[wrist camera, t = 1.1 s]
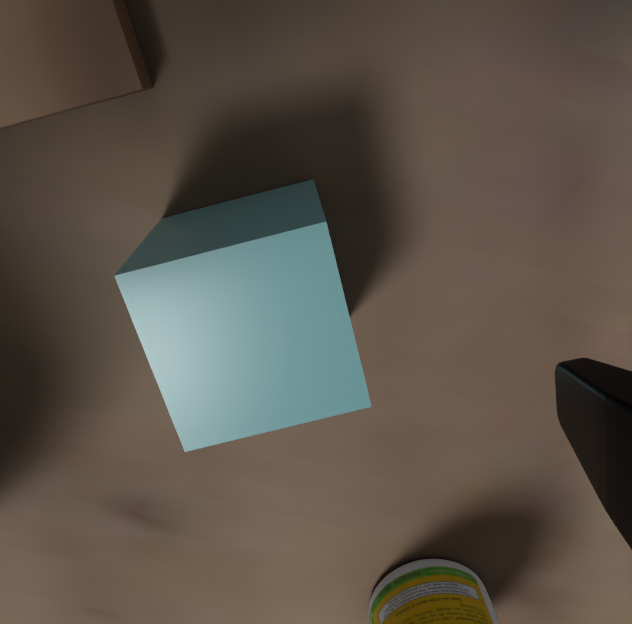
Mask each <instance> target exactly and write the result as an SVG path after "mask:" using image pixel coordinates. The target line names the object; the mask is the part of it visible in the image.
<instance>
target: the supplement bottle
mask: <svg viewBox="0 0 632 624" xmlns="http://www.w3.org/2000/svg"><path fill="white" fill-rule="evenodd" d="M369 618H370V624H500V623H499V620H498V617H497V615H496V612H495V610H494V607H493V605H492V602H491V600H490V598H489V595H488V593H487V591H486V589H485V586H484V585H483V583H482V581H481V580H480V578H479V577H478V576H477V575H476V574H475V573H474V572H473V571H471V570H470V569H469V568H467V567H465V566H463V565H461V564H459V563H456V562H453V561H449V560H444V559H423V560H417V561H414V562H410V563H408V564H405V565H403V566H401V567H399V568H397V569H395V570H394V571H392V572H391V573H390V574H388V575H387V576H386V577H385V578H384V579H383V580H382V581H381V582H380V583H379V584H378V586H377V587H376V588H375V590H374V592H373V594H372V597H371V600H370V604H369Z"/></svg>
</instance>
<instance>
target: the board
mask: <svg viewBox="0 0 632 624" xmlns="http://www.w3.org/2000/svg"><path fill="white" fill-rule="evenodd" d="M151 88H153V86H152V83H151V80H150V77H149V74H148V71H147V68H146V65H145V62H144V59H143V56H142V53H141V50H140V47H139V44H138V41H137V38H136V35H135V32H134V29H133V26H132V23H131V20H130V17H129V13H128V10H127V7H126V4H125V1H124V0H0V129H2V128H6V127H10V126H13V125H17V124H21V123H24V122H28V121H32V120H36V119H39V118H43V117H47V116H51V115H54V114H58V113H62V112H65V111H69V110H73V109H77V108H80V107H84V106H88V105H91V104H95V103H99V102H103V101H106V100H110V99H114V98H117V97H121V96H125V95H129V94H132V93H136V92H140V91H143V90H147V89H151Z"/></svg>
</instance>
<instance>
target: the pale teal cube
mask: <svg viewBox="0 0 632 624" xmlns="http://www.w3.org/2000/svg"><path fill="white" fill-rule="evenodd" d="M114 276H115V279H116V281H117V284H118V286H119V289H120V291H121V294H122V296H123V299H124V301H125V304H126V306H127V309H128V311H129V314H130V316H131V319H132V321H133V324H134V326H135V329H136V331H137V334H138V336H139V339H140V341H141V344H142V346H143V349H144V351H145V354H146V356H147V359H148V361H149V364H150V366H151V369H152V371H153V374H154V376H155V379H156V381H157V384H158V386H159V389H160V391H161V393H162V396H163V398H164V401H165V403H166V406H167V408H168V411H169V413H170V416H171V418H172V421H173V423H174V426H175V428H176V431H177V433H178V436H179V438H180V441H181V443H182V446H183V448H184V451H185V452H186V451H191V450H195V449H199V448H203V447H207V446H211V445H215V444H220V443H224V442H228V441H232V440H236V439H240V438H244V437H248V436H253V435H257V434H261V433H265V432H269V431H273V430H277V429H282V428H286V427H290V426H294V425H298V424H302V423H306V422H311V421H315V420H319V419H323V418H327V417H331V416H335V415H340V414H344V413H348V412H352V411H356V410H360V409H364V408H368V407H372V406H371V402H370V398H369V394H368V390H367V386H366V382H365V378H364V374H363V370H362V365H361V361H360V357H359V353H358V349H357V345H356V341H355V337H354V333H353V329H352V325H351V320H350V316H349V312H348V308H347V304H346V300H345V296H344V292H343V288H342V284H341V280H340V275H339V271H338V267H337V263H336V259H335V255H334V251H333V247H332V243H331V239H330V235H329V230H328V226H327V222H326V219H325V215H324V212H323V209H322V205H321V202H320V199H319V196H318V192H317V189H316V186H315V182H314V179H311V180H308V181H304V182H300V183H296V184H292V185H288V186H284V187H281V188H277V189H273V190H269V191H265V192H261V193H257V194H254V195H250V196H246V197H242V198H238V199H234V200H231V201H227V202H223V203H219V204H215V205H211V206H207V207H204V208H200V209H196V210H192V211H188V212H184V213H180V214H177V215H173V216H169V217H165V218H162V219H161V220H160V221H159V222H158V223H157V225H156V226H155V227H154V228H153V230H152V231H151V232H150V233H149V234H148V236H147V237H146V238H145V239H144V240H143V242H142V243H141V244H140V245H139V246H138V248H137V249H136V250H135V251H134V253H133V254H132V255H131V256H130V257H129V259H128V260H127V261H126V262H125V263H124V265H123V266H122V267H121V268H120V269H119V271H118V272H117V273H116V274H115V275H114Z"/></svg>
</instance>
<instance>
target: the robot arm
mask: <svg viewBox="0 0 632 624" xmlns="http://www.w3.org/2000/svg"><path fill="white" fill-rule="evenodd" d="M555 386H556V404H557V414H558V419H559V422H560V425H561V427H562V429H563V431H564V433H565V435H566V437H567V438H568V440H569V442H570V444H571V446H572V448H573V450H574V452H575V454H576V456H577V457H578V459H579V461H580V463H581V465H582V467H583V469H584V471H585V473H586V475H587V476H588V478H589V480H590V482H591V484H592V486H593V488H594V490H595V492H596V494H597V495H598V497H599V499H600V501H601V503H602V505H603V506H604V508H605V510H606V512H607V513H608V515H609V516H610V518H611V520H612V521H613V523H614V524H615V526H616V527H617V529H618V530H619V532H620V533H621V535H622V536H623V538H624V539H625V540H626V542H627V543H628V545H629V546H630V548H631V549H632V371H629V370H625V369H622V368H619V367H615V366H612V365H609V364H605V363H602V362H599V361H595V360H592V359H589V358H578V359H573V360H568V361H563V362H560V363H558V364H557V366H556V369H555Z"/></svg>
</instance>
